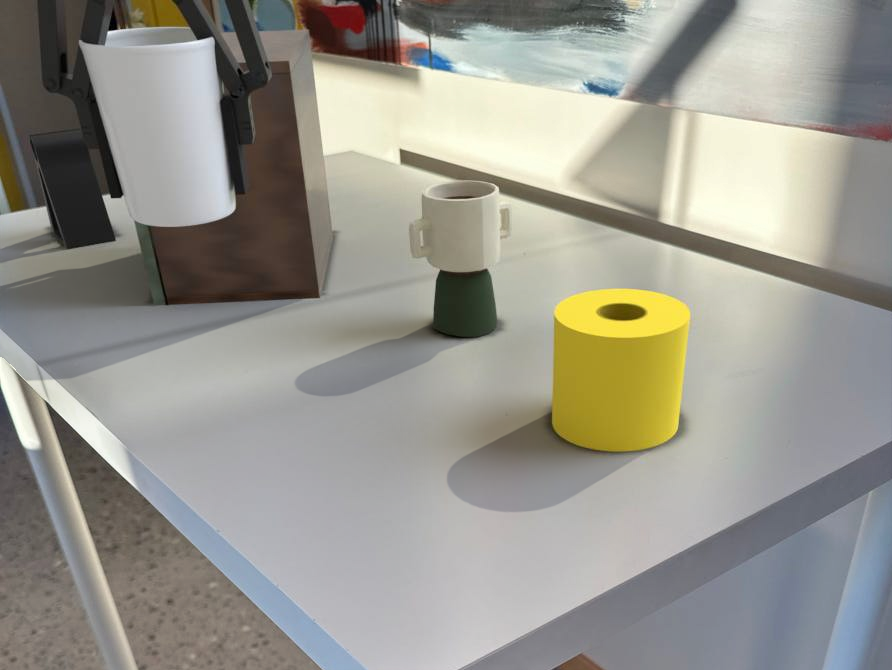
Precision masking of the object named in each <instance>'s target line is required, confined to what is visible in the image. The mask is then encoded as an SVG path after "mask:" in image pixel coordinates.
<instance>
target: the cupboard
mask: <svg viewBox="0 0 892 670" xmlns="http://www.w3.org/2000/svg"><path fill="white" fill-rule="evenodd" d="M258 32H259V35H260V38H261V41H262V44H263V47H264V50H265V53H266V56H267V59H268V62H269V65H270V68H271V71H272V76H271V79H270V80H269V82H268V83H267V85H266V86H265V87H262V88H259V89H257V90H255V91H253V92H251V96H250V99H251V106H252V113H253V120H254V127H255V137H254V141H253V143H252V144H249V145H244V152H245V158H246V165H247V171H248V178H249V184H250V186H249V188H248V190H247V192H246V194H243V195H236V208H235V210H234V212H233V213H232V214H230V215H229V216H227V217H225V218H222V219H219V220H216V221H213V222H209V223H204V224H198V225H191V226H180V227H160V226H150V227H151V232H152V236H153V240H154V245H155V249H156V253H157V258H158V262H159V266H160V271H161V275H162V280H163V284H164V288H165V293H166V297H167V304H168V306H177V305H179V306H180V305H197V304H198V305H199V304H220V303H223V304H224V303H242V302H264V301H285V300H287V301H288V300H307V299H321V296H322V291H323V286H324V282H325V277H326V274H327V273H326V272H327V268H328V264H329V258H330V253H331V248H332V245H333V239H334V235H333V227H332V226H333V225H332V217H331V208H330V200H329V191H328V184H327V182H328V181H327V175H326V166H325V164H326V163H325V156H324V148H323V140H322V131H321V122H320V113H319V105H318V97H317V88H316V81H315V80H316V79H315V72H314V64H313V63H314V62H313V55H312V46H311V37H310V29H306V28H305V29H285V30H283V29H281V30H258ZM220 33H221V35H222V36H223V38H224V40H225V41H226V43H227V45H228V47H229V48H230V50H231V52H232V53H233V55H234V57H235V58H236V60H237V62H238V63H239V65H240V67H241V69H242V70H243V72H246V71H248V67H247V64H246V61H245V58H244V56H243V53H242V50H241V47H240V44H239V41H238V38H237V35H236V32H235V31H232V32H230V31H229V32H220ZM224 90H225V94H228V93H229V91H228V90H227V88H226V86H225V85H224Z"/></svg>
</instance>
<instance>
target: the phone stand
mask: <svg viewBox="0 0 892 670" xmlns="http://www.w3.org/2000/svg"><path fill="white" fill-rule="evenodd" d="M28 141H29V144H30V148H31V151H32V155H33V157H34V162H35V166H36V170H37V174H38V178H39V183H40V186H41V191H42V195H43V199H44V200H43V201H44V204H45V208H46V212H47V216H48V217H47V218H48V220H49V225H50V229H51V232H52V234H53V235H54V236H55V237H56V239H58V240H59V242H60V243H61V244H62V245H63V246H64V247H65V248H66V250H70V249H75V248H76V249H77V248H81V247H87V246H93V245H99V244H104V243H110V242H115V241H116V236H115V232H114V229H113V226H112V223H111V220H110V217H109V213H108V211H107V207H106V203H105V201H104V197H103V194H102V191H101V187H100V184H99V181H98V178H97V175H96V171H95V168H94V165H93V162H92V158H91V155H90V150H89V149H88V147H87V145H86V144H85V142H84V139H83V135H82V131H81V128H71V129H65V130H57V131H50V132H42V133H34V134H29V135H28Z"/></svg>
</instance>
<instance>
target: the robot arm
mask: <svg viewBox="0 0 892 670" xmlns="http://www.w3.org/2000/svg"><path fill="white" fill-rule="evenodd" d="M115 1H116V0H87V1H86V5H85V10H84V15H83V21H82V25H81V26H82V27H81V31H80V37H79V40H82V41H83V42H84V43H88V44H94V45H104V46H105V43H106V38H107V33H108V31H109V27H110V22H111V19H112V14H113V10H114V9H113V8H114V4H115ZM171 1H172V3H173V4H174V5H175V6H176V7H177V9H178V10H179V13H180V14H181V15H182V17H183V19H184V21H185V22H186V23H187V25H188V27H190V28H191V30H192V32H193V33H194V35H195V37H196V38H197V40H202V39H206V38H209V37H213V38H214V41H215V60H216V69H217V73H218V75H219V76H220V78H221V80H222V81H223V83H224V85H225V86H226V88H227V90H228V91H229V93H228V94H225V97H224V98H223V99H221V100H220V103H221V109H222V115H223V121H224V127H225V133H226V140H227V146H228V152H229V158H230V164H231V170H232V176H233V183H234V189H235V195H243V194H246V192H247V190H248V188H249V186H250V184H249V178H248V171H247V165H246V158H245V152H244V145H249V144H252V143H253V141H254V137H255V127H254V120H253V113H252V106H251V99H250V96H251V92H253V91H255V90H257V89H259V88H262V87H265V86H266V85H267V83H268V82H269V80H270V79H271V76H272V71H271V68H270V65H269V62H268V59H267V56H266V53H265V50H264V47H263V44H262V41H261V38H260V35H259V32H258V31H259V29H258V25H257V23H256V19H255V17H254V14H253V10H252V7H251V5H250V1H249V0H224V3H225V6H226V9H227V12H228V14H229V17H230V20H231V24H232V26H233V29H234V32H236V35H237V38H238V41H239V44H240V47H241V50H242V53H243V56H244V58H245V61H246V64H247V67H248V71H246V72H243V70H242V69H241V67H240V65H239V63H238V62H237V60H236V58H235V57H234V55H233V53H232V52H231V50H230V48H229V47H228V45H227V43H226V41H225V40H224V38H223V36H222V35H221V33H222V32H221V31H220V30H219V28H218V26H217V25H216V23H215V21H214V20H213V18H212V16H211V14H210V12H209V11H208V9H207V7H206V6H205V4H204V3H203V0H171ZM36 2H37V3H36V4H37V18H38V19H37V20H38V31H39V32H38V34H39V35H38V36H39V50H40V51H39V52H40V67H41V82H42V87H43V88H44V89H45V91H47V92H48V93H51V94H58V95H62V96H64V97H66V98H69V100H70V101H72V102H73V104H74V106H75V111H76V113H77V114H76V115H77V117H78V122H79V126H80V130H81V131H82V135H83V139H84V142H85V144H86V145H87V147H88V150H98V151H99V155H100V159H101V163H102V168H103V171H104V176H105V180H106V184H107V189H108V192H109V196H110V197H109V198H110V199H122V198H123V197H124V195H123V192H122V188H121V185H120V181H119V178H118V175H117V171H116V168H115V164H114V161H113V157H112V154H111V150H110V147H109V143H108V140H107V136H106V133H105V129H104V126H103V122H102V119H101V115H100V112H99V108H98V105H97V101H96V98H95V94H94V91H93V87H92V84H91V80H90V77H89V73H88V70H87V66H86V63H85V59H84V56H83V53H82V50H81V48H80V46H79V45H78V47H77V51H76V58H75V62H74V68H73V73H72V74H70V73H69V53H68V33H67V15H66V14H67V10H66V8H67V7H66V0H36Z"/></svg>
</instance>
